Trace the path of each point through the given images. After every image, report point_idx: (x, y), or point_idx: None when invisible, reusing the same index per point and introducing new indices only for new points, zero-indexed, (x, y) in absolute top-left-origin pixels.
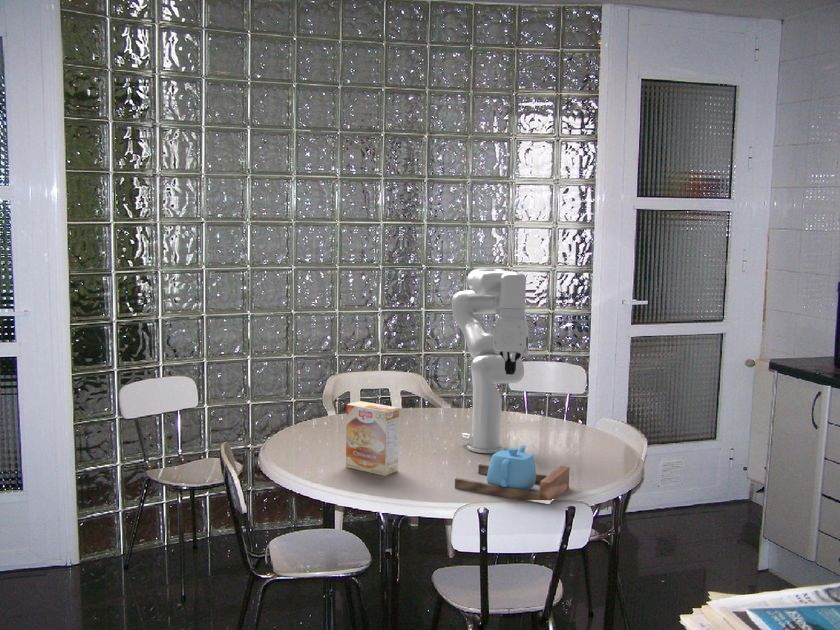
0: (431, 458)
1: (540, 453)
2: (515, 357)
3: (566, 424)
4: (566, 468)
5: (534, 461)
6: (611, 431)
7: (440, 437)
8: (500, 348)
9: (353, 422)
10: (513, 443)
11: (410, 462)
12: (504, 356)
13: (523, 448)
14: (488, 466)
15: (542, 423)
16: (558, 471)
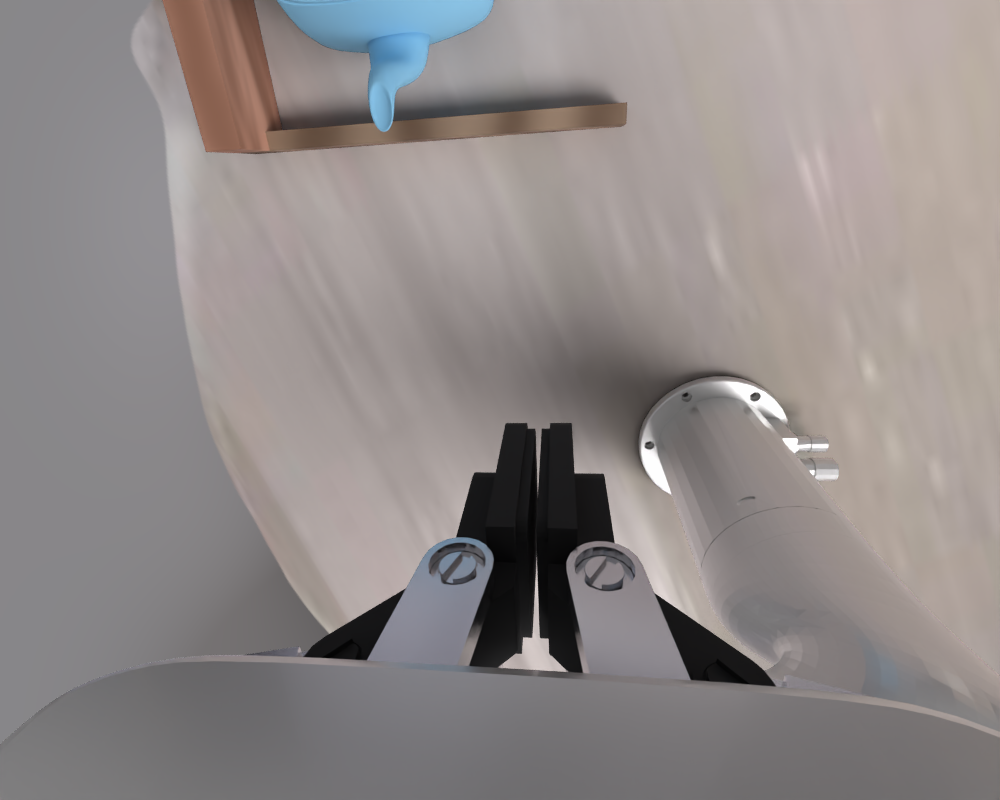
0: (895, 194)
1: None
2: (403, 615)
3: None
4: (200, 118)
5: (284, 10)
6: None
7: (927, 491)
8: (789, 748)
9: None
10: (641, 539)
11: (991, 60)
12: (632, 612)
13: (369, 83)
14: (577, 110)
15: None
16: (193, 39)
